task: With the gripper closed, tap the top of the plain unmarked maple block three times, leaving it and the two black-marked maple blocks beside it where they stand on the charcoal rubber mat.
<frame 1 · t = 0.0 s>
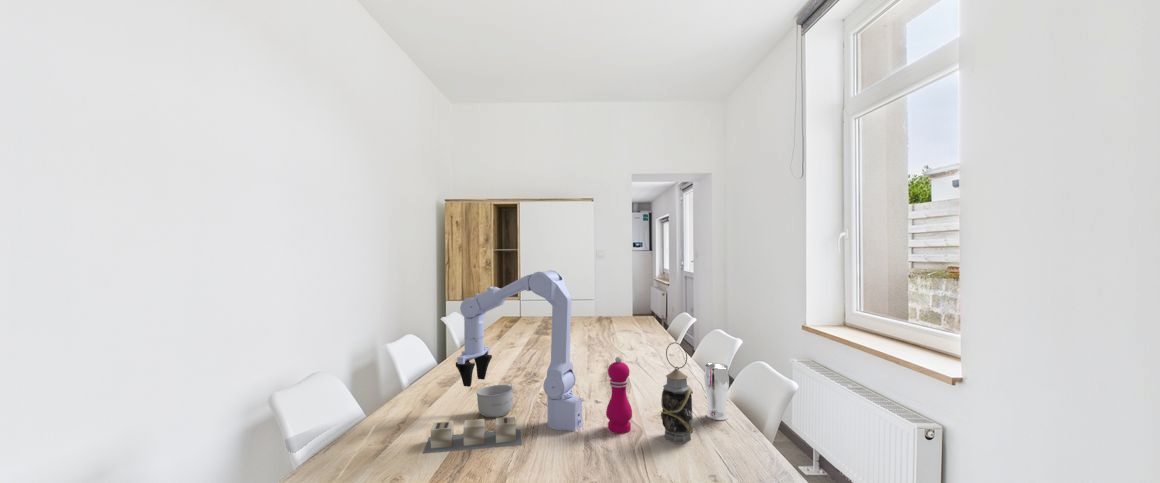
hand: (474, 382, 137), 10 cm above the table, tool pointing down, fingers open, 7 cm apart
marked block two: (442, 443, 115), point 1 cm above the table, touching mat
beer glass: (717, 417, 134), on the table
plain block: (474, 440, 117), point 1 cm above the table, touching mat
mat: (474, 443, 117), on the table
lantern: (677, 438, 119), on the table
pepper mill: (619, 429, 125), on the table
teacup: (498, 414, 138), on the table
marked block one: (505, 438, 118), point 1 cm above the table, touching mat
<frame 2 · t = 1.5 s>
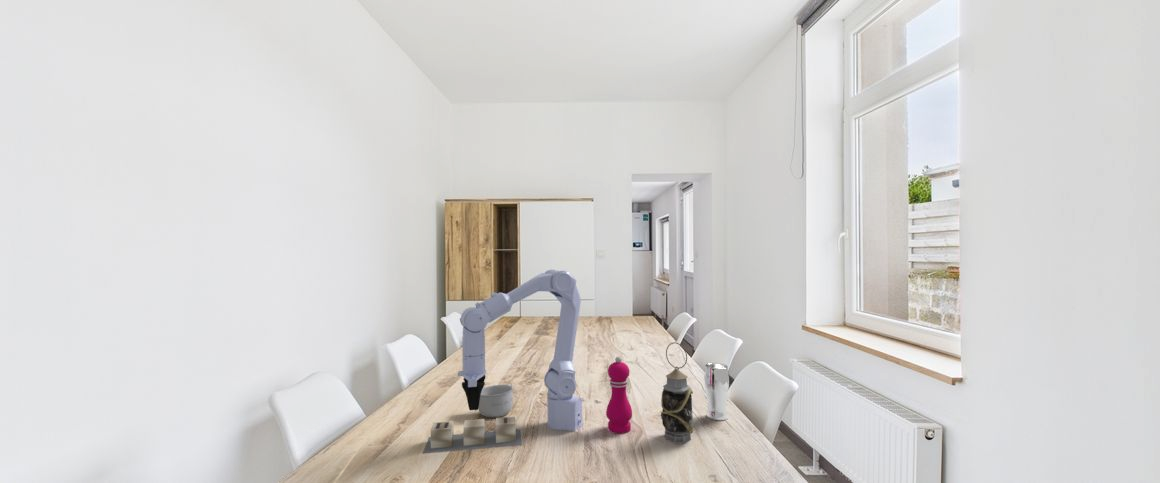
hand: (474, 407, 117), 9 cm above the table, tool pointing down, fingers open, 3 cm apart
nothing on the table moved.
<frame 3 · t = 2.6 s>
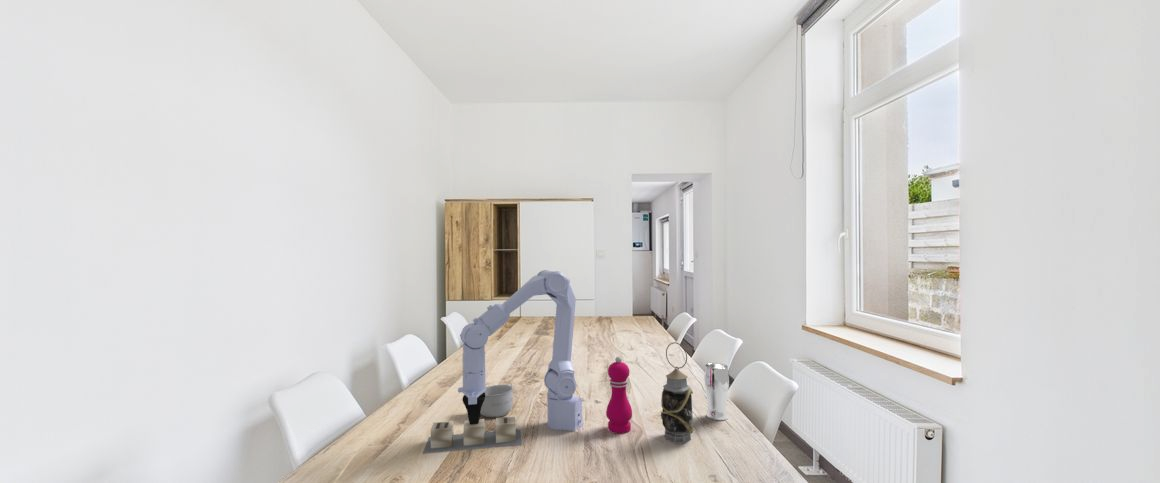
hand: (474, 423, 117), 5 cm above the table, tool pointing down, fingers closed, pressing on plain block
plain block: (474, 440, 117), point 1 cm above the table, touching gripper, mat
everything else where it was.
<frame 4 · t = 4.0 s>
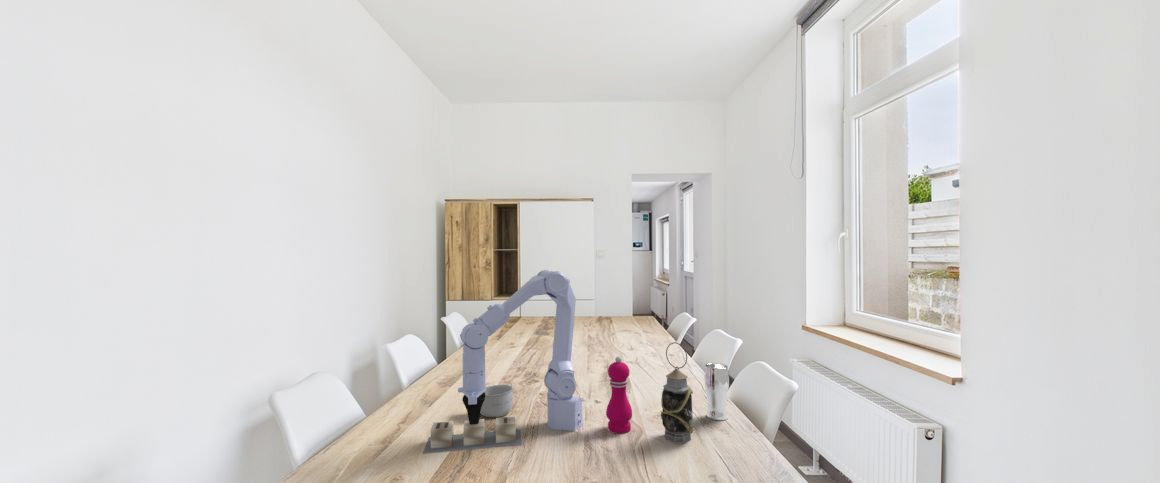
hand: (474, 423, 117), 5 cm above the table, tool pointing down, fingers closed, pressing on plain block
plain block: (474, 440, 117), point 1 cm above the table, touching gripper, mat
everything else where it was.
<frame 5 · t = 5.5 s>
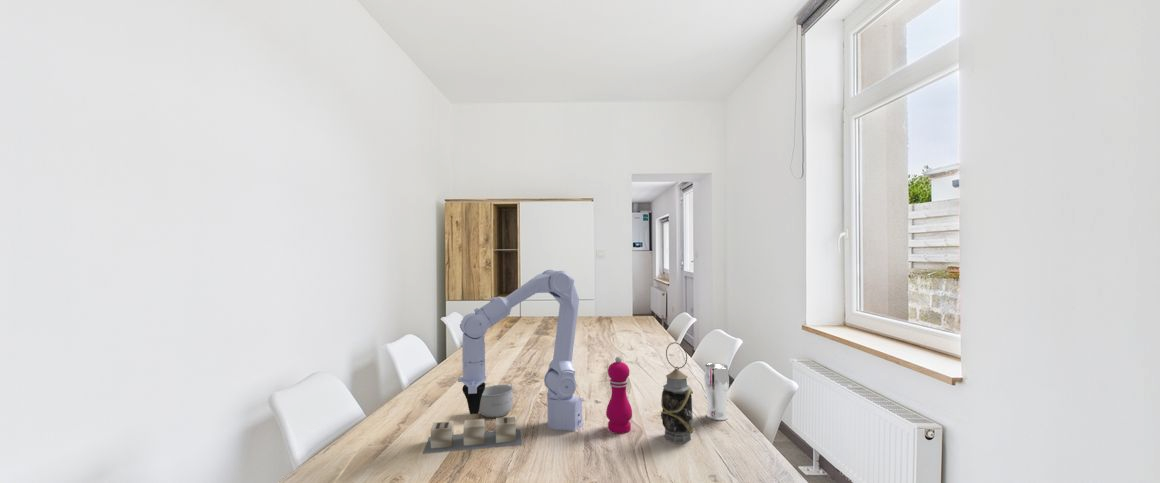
hand: (474, 413, 117), 8 cm above the table, tool pointing down, fingers closed
plain block: (474, 440, 117), point 1 cm above the table, touching mat
everything else where it was.
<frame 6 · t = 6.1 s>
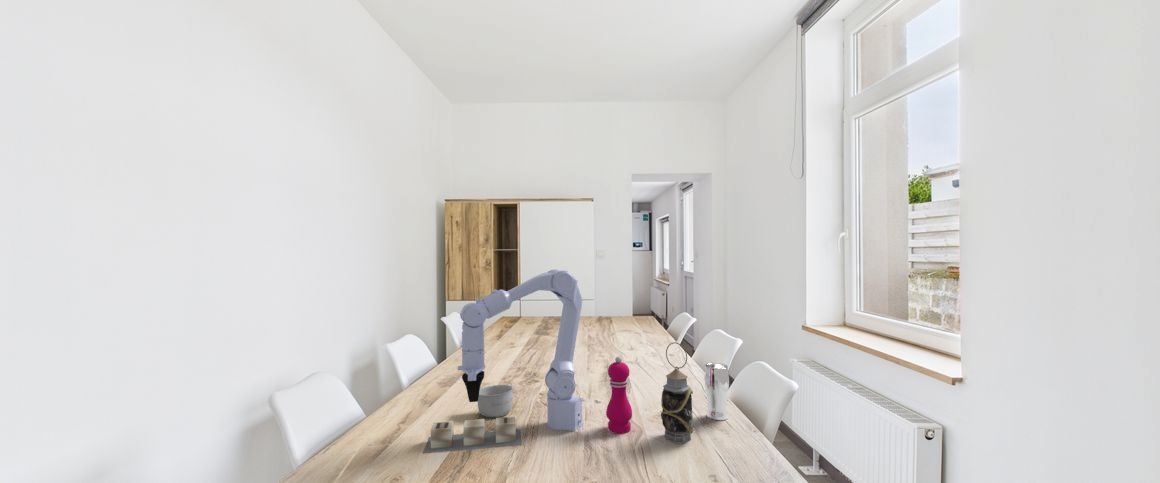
hand: (473, 401, 119), 10 cm above the table, tool pointing down, fingers closed
nothing on the table moved.
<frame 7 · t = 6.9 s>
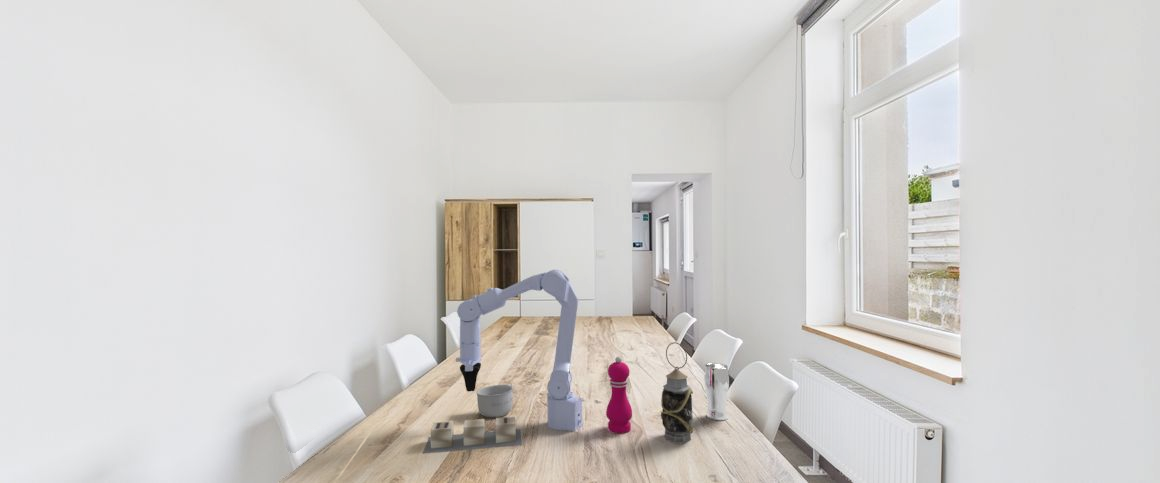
hand: (470, 390, 128), 10 cm above the table, tool pointing down, fingers closed
nothing on the table moved.
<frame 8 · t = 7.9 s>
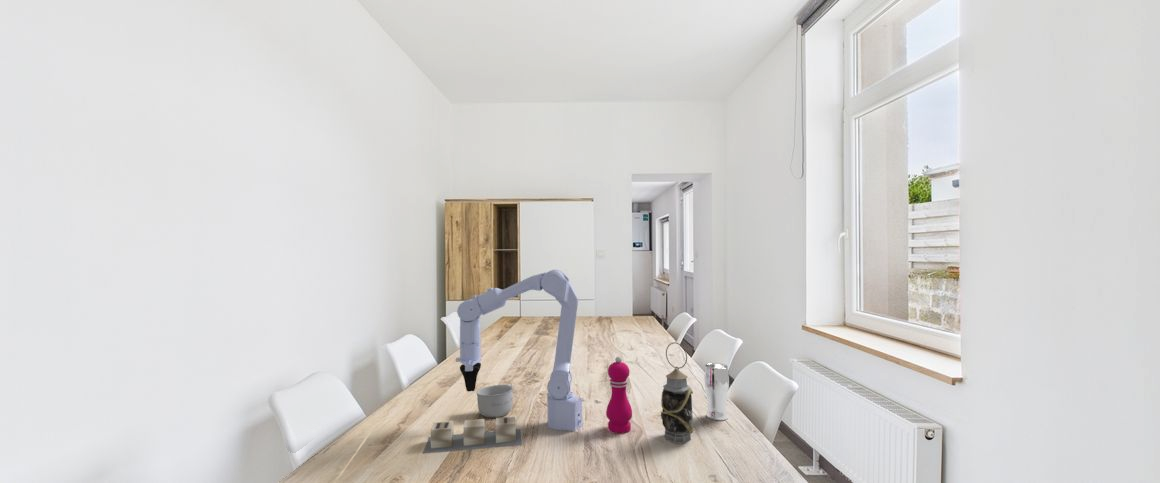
hand: (470, 390, 128), 10 cm above the table, tool pointing down, fingers closed
nothing on the table moved.
at the end: plain block moved 0.0 cm from its start; plain block tilted 0°; marked block one moved 0.0 cm from its start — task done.
